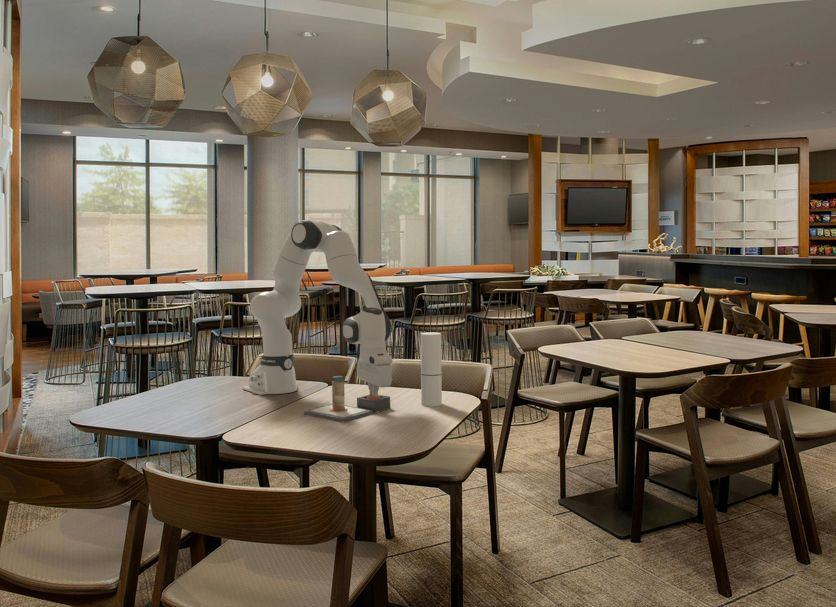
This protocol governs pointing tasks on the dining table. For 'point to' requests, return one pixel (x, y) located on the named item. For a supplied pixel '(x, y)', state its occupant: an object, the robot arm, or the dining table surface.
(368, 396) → the button
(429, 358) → the cylindrical container
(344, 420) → the grey tray
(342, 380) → the marker
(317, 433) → the dining table surface
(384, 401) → the button housing
